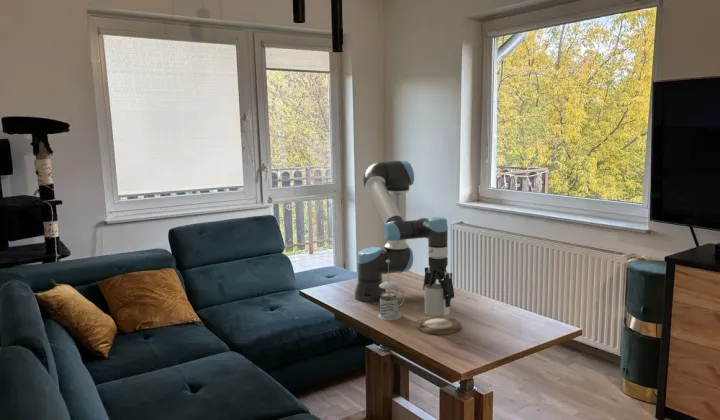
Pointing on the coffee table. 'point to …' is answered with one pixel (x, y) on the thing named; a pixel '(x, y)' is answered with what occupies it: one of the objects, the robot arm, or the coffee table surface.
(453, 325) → the ring
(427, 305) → the mug
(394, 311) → the french press
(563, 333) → the coffee table surface
